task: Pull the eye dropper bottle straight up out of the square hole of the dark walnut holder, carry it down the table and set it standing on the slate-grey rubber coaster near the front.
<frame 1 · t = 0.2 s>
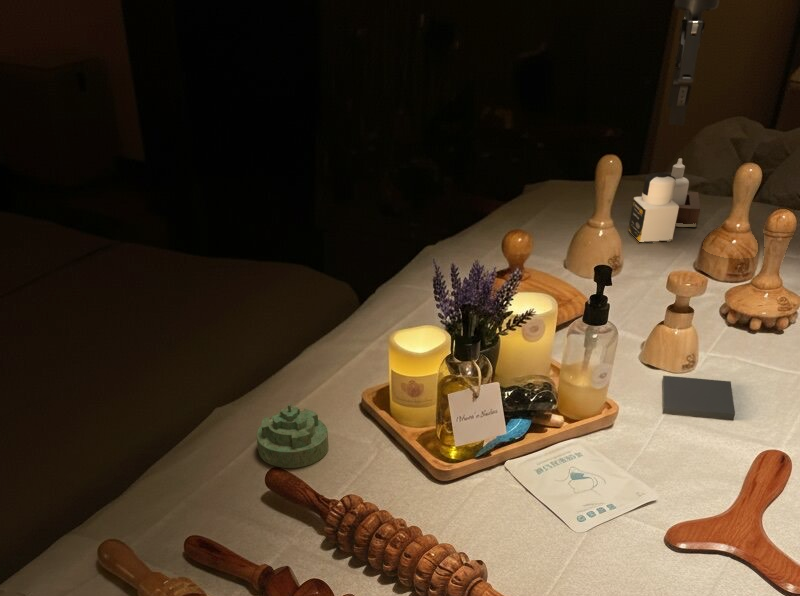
hand: (675, 115, 168), 22 cm above the table, tool pointing down, fingers open, 13 cm apart
holder: (668, 218, 190), on the table
medicine bottle: (649, 237, 182), on the table
decorative artifact: (293, 449, 124), on the table
eye dropper bottle: (668, 219, 190), resting in holder
coaster: (696, 400, 131), on the table
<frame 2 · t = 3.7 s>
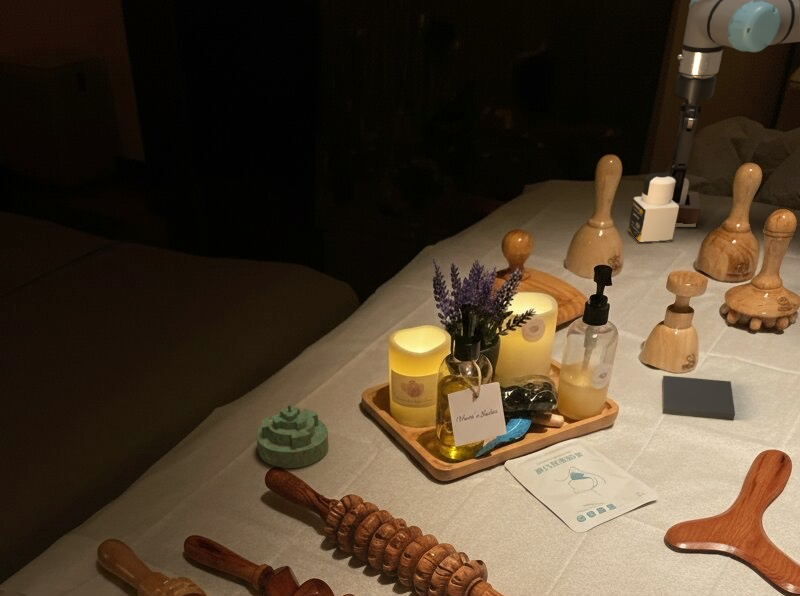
hand: (672, 198, 187), 4 cm above the table, tool pointing down, fingers closed on eye dropper bottle, 4 cm apart
eye dropper bottle: (668, 219, 190), resting in holder, touching gripper
everything else where it was.
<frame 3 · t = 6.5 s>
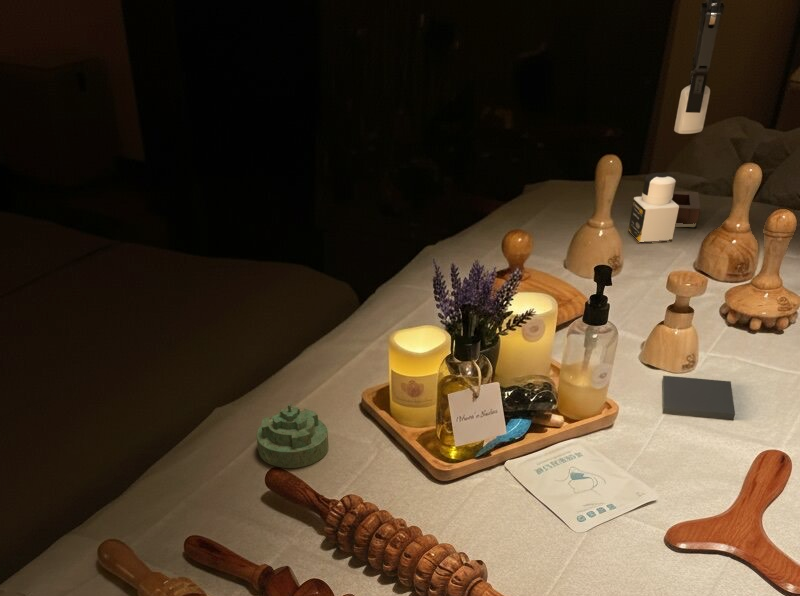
hand: (692, 108, 173), 22 cm above the table, tool pointing down, fingers closed on eye dropper bottle, 4 cm apart
eye dropper bottle: (687, 132, 176), point 18 cm above the table, touching gripper
everything else where it was.
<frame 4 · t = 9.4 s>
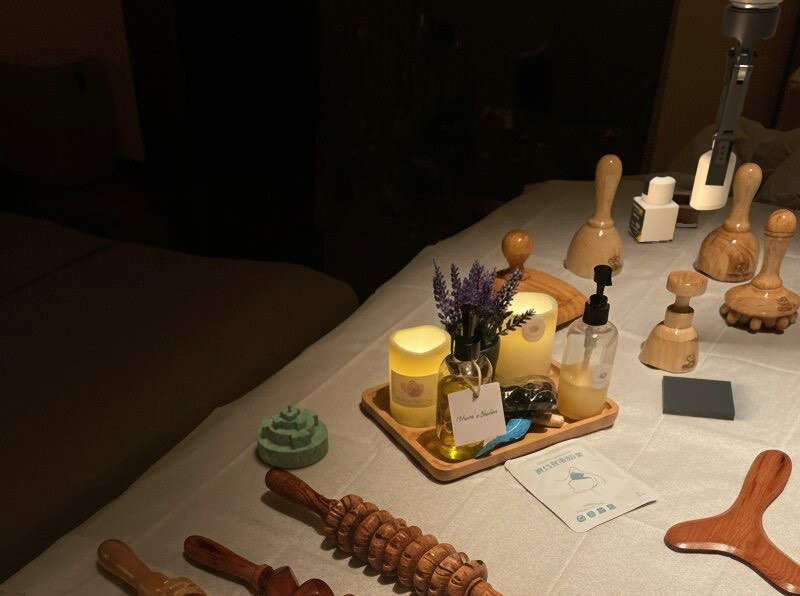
hand: (713, 179, 138), 23 cm above the table, tool pointing down, fingers closed on eye dropper bottle, 4 cm apart
eye dropper bottle: (706, 208, 141), point 18 cm above the table, touching gripper
everything else where it was.
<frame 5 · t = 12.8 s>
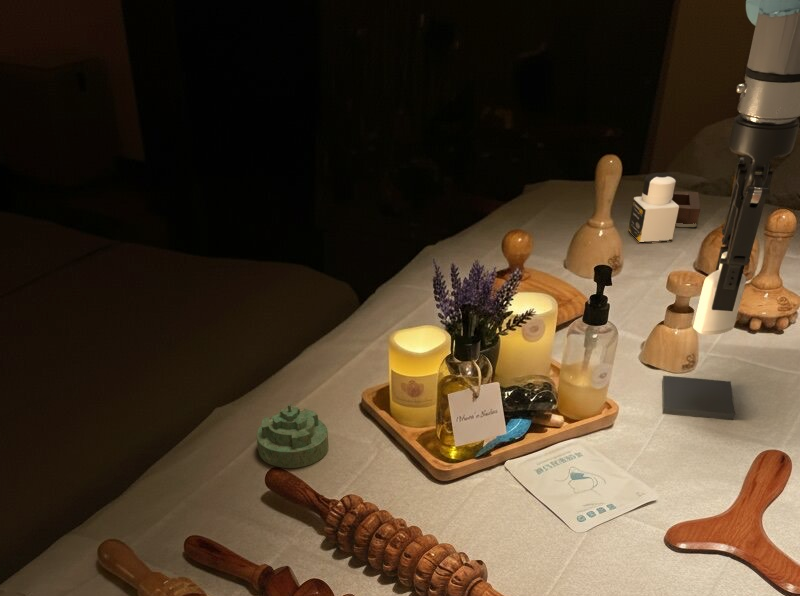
hand: (721, 301, 121), 15 cm above the table, tool pointing down, fingers closed on eye dropper bottle, 4 cm apart
eye dropper bottle: (712, 330, 124), point 11 cm above the table, touching gripper
everything else where it was.
when the fingers open (5 cm above the table, at t = 15.3 s): eye dropper bottle stays where it is, resting on coaster.
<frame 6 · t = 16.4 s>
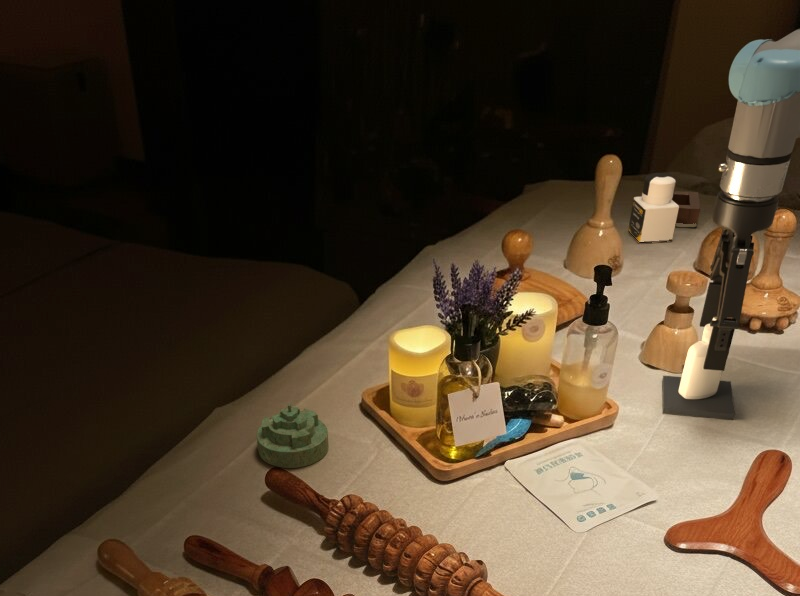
hand: (711, 346, 126), 9 cm above the table, tool pointing down, fingers open, 13 cm apart
eye dropper bottle: (696, 395, 131), point 1 cm above the table, touching coaster
everything else where it was.
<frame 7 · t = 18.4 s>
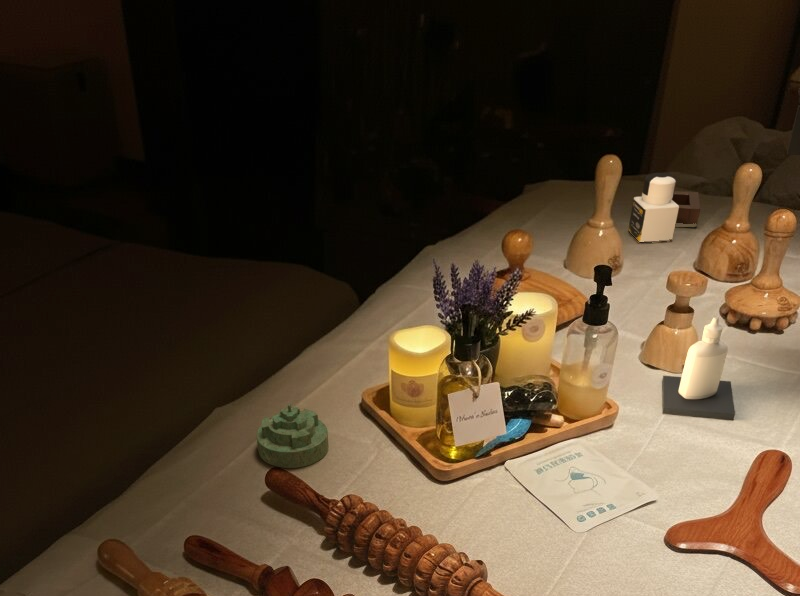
nothing on the table moved.
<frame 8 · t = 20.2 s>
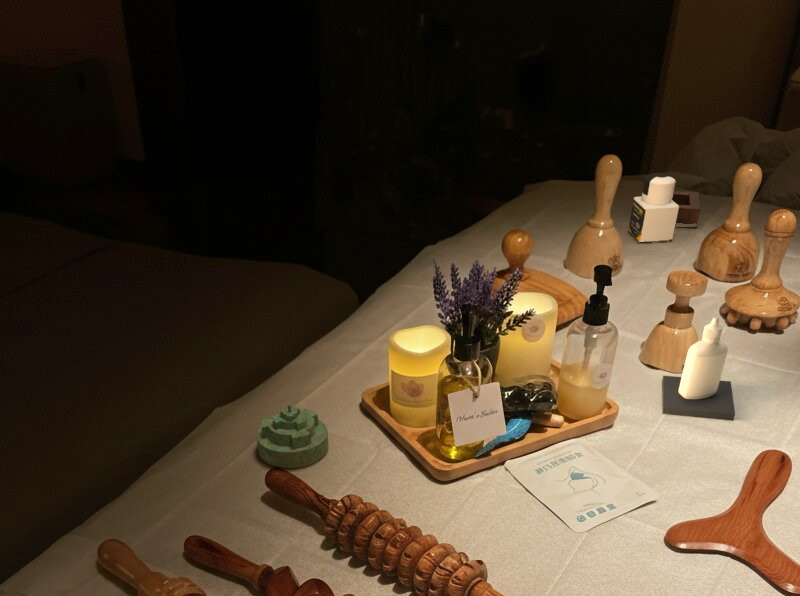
nothing on the table moved.
at the end: eye dropper bottle inside the target area on the coaster (0.2 cm from its centre), point 0.8 cm above the coaster's base; eye dropper bottle tilted 0°; the gripper is holding nothing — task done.
